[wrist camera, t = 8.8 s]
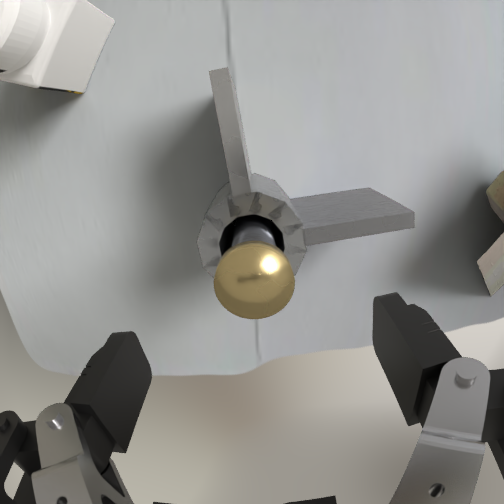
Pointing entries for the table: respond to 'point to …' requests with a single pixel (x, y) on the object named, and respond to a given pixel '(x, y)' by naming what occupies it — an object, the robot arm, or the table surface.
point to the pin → (254, 271)
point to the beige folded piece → (500, 253)
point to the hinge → (283, 199)
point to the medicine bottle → (51, 43)
